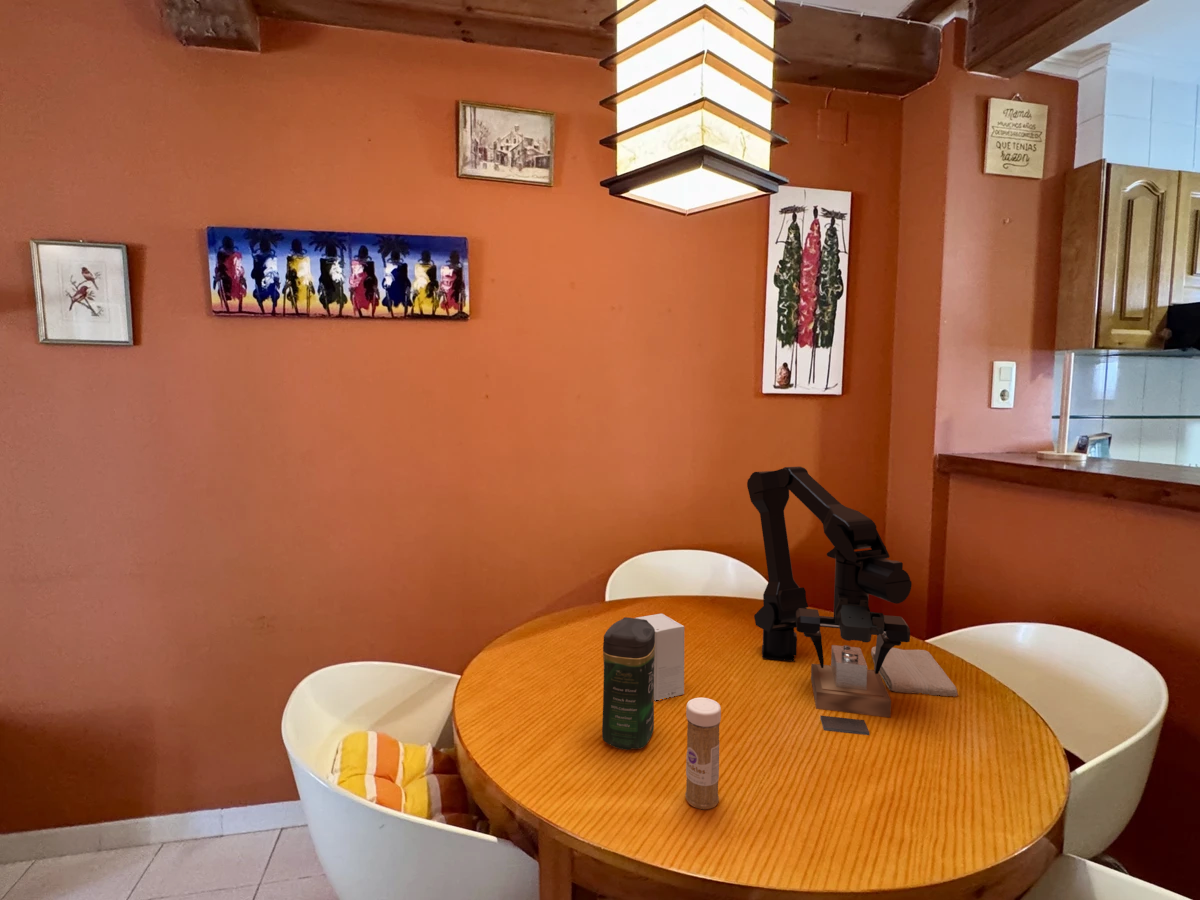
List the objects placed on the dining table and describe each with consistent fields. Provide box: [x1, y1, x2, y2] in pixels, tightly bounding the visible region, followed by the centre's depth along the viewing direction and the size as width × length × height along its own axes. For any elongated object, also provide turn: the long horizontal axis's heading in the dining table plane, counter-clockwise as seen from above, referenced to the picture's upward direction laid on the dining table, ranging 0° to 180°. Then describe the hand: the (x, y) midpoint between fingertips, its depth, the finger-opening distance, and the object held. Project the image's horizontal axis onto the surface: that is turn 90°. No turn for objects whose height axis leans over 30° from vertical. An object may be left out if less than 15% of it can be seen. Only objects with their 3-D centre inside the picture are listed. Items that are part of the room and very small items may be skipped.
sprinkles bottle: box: [684, 697, 722, 810], centre depth 81 cm, size 5×5×14 cm
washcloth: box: [870, 646, 959, 698], centre depth 120 cm, size 12×18×3 cm, turn 169°
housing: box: [830, 644, 868, 690], centre depth 110 cm, size 8×5×6 cm, turn 165°
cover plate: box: [819, 715, 870, 736], centre depth 100 cm, size 7×4×1 cm, turn 78°
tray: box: [810, 663, 892, 718], centre depth 110 cm, size 12×12×3 cm
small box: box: [635, 613, 685, 702], centre depth 113 cm, size 8×6×13 cm
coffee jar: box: [601, 616, 655, 751], centre depth 97 cm, size 10×8×19 cm
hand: (848, 670), depth 110 cm, fingers open, 9 cm apart
